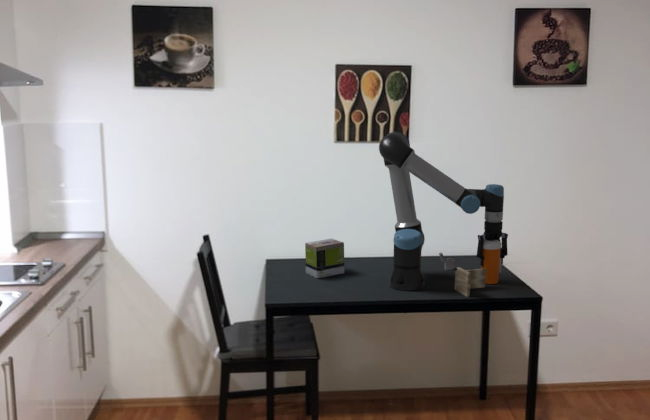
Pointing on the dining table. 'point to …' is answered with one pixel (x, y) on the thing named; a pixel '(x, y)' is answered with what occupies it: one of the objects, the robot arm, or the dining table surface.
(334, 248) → the tea box
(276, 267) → the dining table surface
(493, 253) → the shaker bottle
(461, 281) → the bookend
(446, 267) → the lighter
